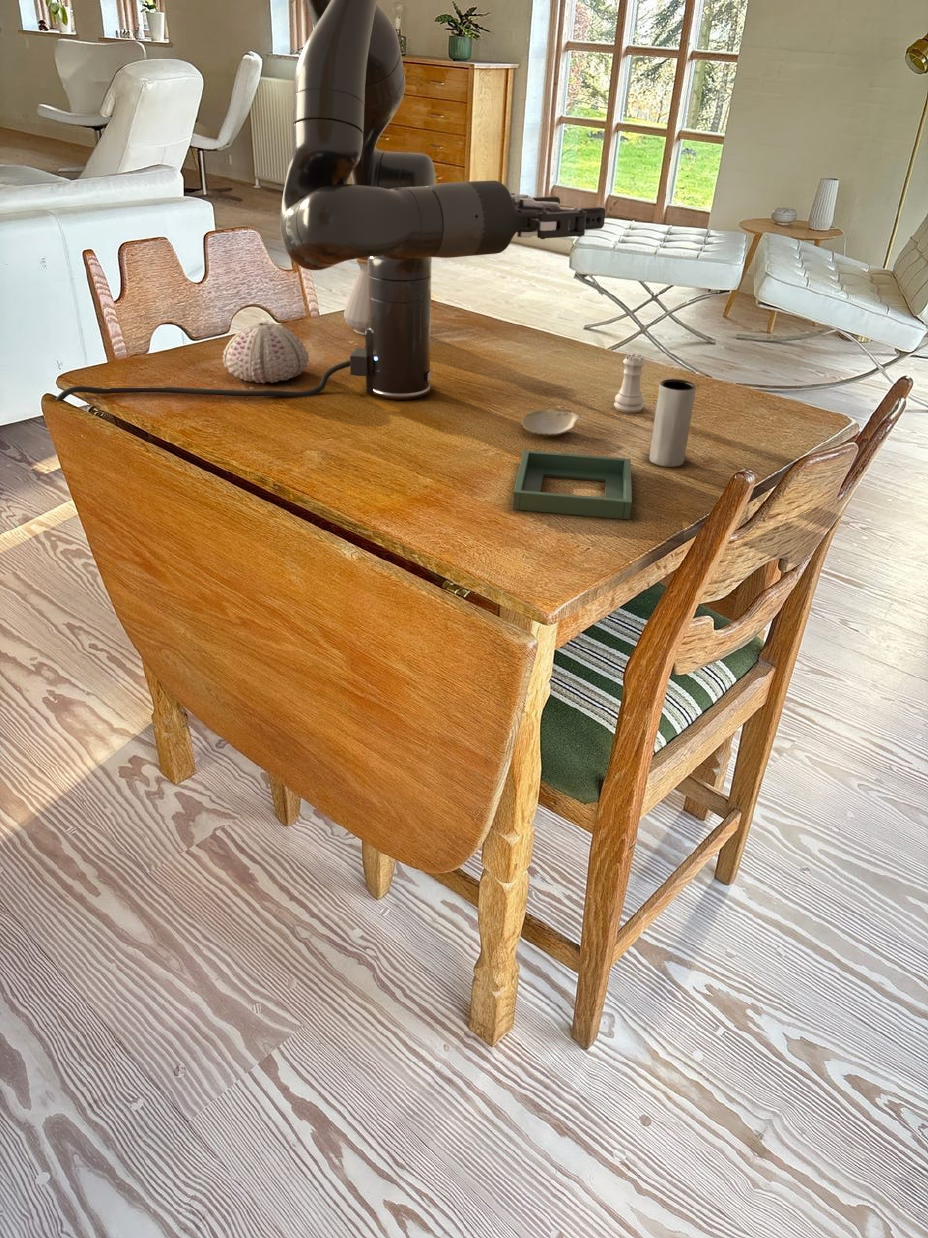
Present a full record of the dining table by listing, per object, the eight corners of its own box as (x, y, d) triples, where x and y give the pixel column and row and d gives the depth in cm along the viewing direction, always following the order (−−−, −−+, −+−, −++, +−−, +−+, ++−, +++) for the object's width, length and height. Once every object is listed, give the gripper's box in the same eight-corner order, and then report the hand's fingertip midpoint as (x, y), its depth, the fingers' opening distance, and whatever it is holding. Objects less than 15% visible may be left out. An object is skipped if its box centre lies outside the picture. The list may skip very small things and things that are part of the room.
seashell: (514, 440, 136) (543, 445, 129) (509, 419, 135) (539, 423, 128) (562, 422, 139) (593, 427, 132) (558, 401, 137) (589, 405, 131)
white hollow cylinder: (645, 454, 128) (656, 378, 123) (678, 454, 128) (690, 378, 123) (653, 467, 124) (665, 389, 119) (687, 467, 124) (700, 389, 119)
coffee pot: (333, 326, 178) (330, 241, 171) (387, 320, 184) (386, 237, 176) (389, 356, 163) (389, 264, 156) (446, 347, 169) (448, 258, 161)
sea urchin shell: (241, 392, 144) (236, 338, 140) (213, 368, 154) (208, 317, 150) (323, 381, 150) (320, 329, 146) (290, 358, 160) (287, 309, 156)
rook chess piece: (642, 414, 142) (649, 361, 137) (612, 411, 142) (618, 358, 138) (643, 405, 145) (650, 352, 141) (614, 402, 146) (620, 350, 142)
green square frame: (512, 509, 111) (513, 492, 110) (522, 465, 123) (523, 449, 122) (629, 519, 110) (632, 502, 109) (628, 474, 122) (630, 458, 120)
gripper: (500, 191, 97) (623, 184, 105) (429, 173, 107) (546, 169, 115) (497, 268, 101) (615, 256, 109) (428, 244, 111) (541, 235, 119)
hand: (579, 211), depth 112 cm, fingers open, 8 cm apart
